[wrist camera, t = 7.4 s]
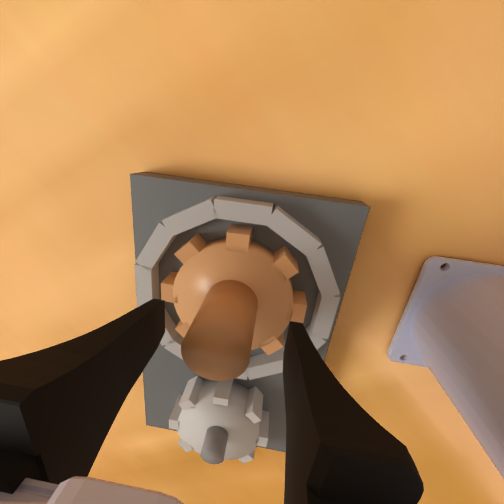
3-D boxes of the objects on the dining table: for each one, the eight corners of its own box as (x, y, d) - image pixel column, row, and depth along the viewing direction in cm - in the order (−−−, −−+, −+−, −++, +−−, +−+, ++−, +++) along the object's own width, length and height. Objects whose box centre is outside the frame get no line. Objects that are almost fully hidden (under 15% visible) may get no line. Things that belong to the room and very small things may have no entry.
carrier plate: (361, 201, 15) (398, 225, 10) (295, 435, 23) (298, 508, 18) (143, 171, 15) (84, 181, 11) (154, 408, 23) (122, 472, 19)
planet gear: (317, 235, 14) (336, 284, 9) (291, 352, 17) (295, 436, 12) (170, 216, 15) (110, 250, 10) (172, 332, 18) (128, 405, 13)
